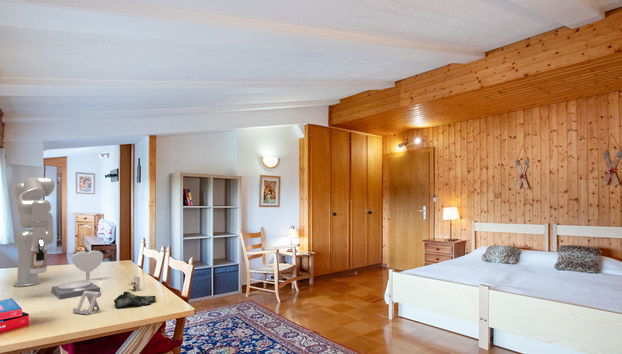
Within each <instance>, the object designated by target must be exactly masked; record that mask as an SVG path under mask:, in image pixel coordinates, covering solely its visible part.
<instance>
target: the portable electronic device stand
mask: <svg viewBox="0 0 622 354" xmlns="http://www.w3.org/2000/svg"><path fill="white" fill-rule="evenodd" d="M101 296H102V292H101V291H100V292H92V291H84V292H83V295H82V296H80V300H79V303H78V304H77V307H76V308H75V307H73V308H72V313H74V314H79V315H80V314H81V315H85V316H90V315H91V314H92V311H93V310H95V308H96V309H97V310H98V311H99V310H101V309H100V306H99V303H98V301H97V298H100V297H101ZM85 299H87V301H88V303H89V306H88V309H82V307H83V304H84V302H85Z"/></svg>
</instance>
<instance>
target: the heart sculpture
mask: <svg viewBox="0 0 622 354" xmlns="http://www.w3.org/2000/svg"><path fill="white" fill-rule="evenodd" d="M103 261H104V253H103V252H102V251H99V250H90V251H88V252H87V251H79V252H76V253H75V254H73V255H72V263H73V264H74V266H75V267H76V269H78V270H80V271H81V272H85V279H84V280H83V281H90V282H92V283H93V282H94V283H95V282H100V281H101V279H98V278H97V279H90V278H91V277H90V276H91V275H90V273H91V272H92V271H94V270H95V269H97V268H98V267H99V266H100V265H101V264H102V262H103Z"/></svg>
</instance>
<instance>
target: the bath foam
mask: <svg viewBox="0 0 622 354" xmlns="http://www.w3.org/2000/svg"><path fill="white" fill-rule="evenodd" d="M38 249H39V248H38ZM36 253H37V247H35V248H34V247H33V245H32V247H31V253H30V273H31V274H38V275H39V274H44V273H46V272H47V270H48V269H47V267H48V245H45V247H44V260H41V261H36Z"/></svg>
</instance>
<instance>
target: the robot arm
mask: <svg viewBox="0 0 622 354" xmlns="http://www.w3.org/2000/svg"><path fill="white" fill-rule="evenodd" d="M54 190H55V181H54V179H53V178H52V177H49V176H48V177H45V176H38V177H37V176H30V177H28V178H26V179H24V181H23V182H19V183H17V184H15V186H14V195H15V198H16V208H17V212H18V213H19V225H20V227H21V228H23V229H25V230H22V231H19V232H18V233H17V234H16V242H17V243H16V244H17V278H16V279H17V281H16V282H15V283H14V284H13V287H18V288H19V287H31V286H36V285H40V284H41V283H42V281H41V280H40V279H39V274H31V273H30V253H31V247H32V245H33V247H34V248H35V247H37V253H36V261H41V260H44V247H45V245H47V246H49V245H52V244H53V242H54V238H55V237H54V217H53V214H52V213H51V210H52V204H51V201H49V200H47V199H43V198H44V197H49V196H50V195H52V192H53V191H54ZM53 193H54V192H53ZM38 248H39V249H38Z"/></svg>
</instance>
